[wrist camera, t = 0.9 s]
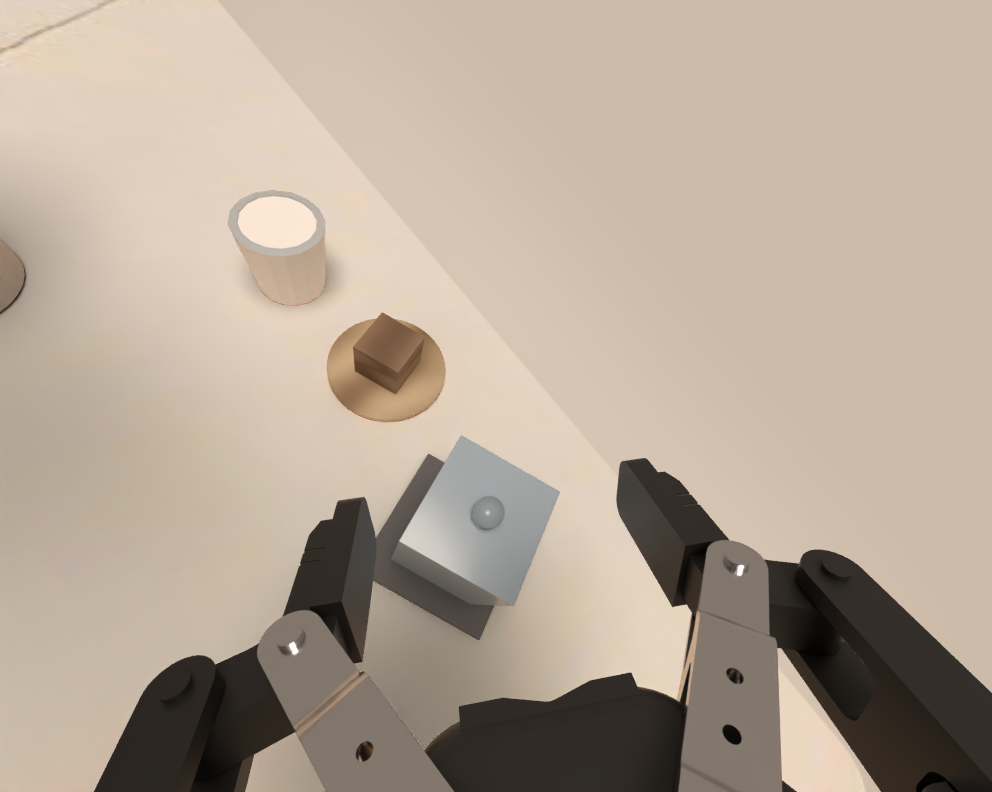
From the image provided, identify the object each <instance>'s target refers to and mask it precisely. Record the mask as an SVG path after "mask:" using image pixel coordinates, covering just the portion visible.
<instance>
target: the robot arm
mask: <svg viewBox="0 0 992 792" xmlns="http://www.w3.org/2000/svg"><path fill="white" fill-rule="evenodd" d="M24 276H25V273H24V268H23V264H22V262H21V261H20V259H19V257H18V256H17V255H16V254H15V253H14V252H13V251H12V250H11V249H10V248H9V247H8V246H7V245H6V244H5V243H4V242H3V241H2V240H1V239H0V311H2V310H3V309H4V308H5V307H7V306H8V305H9V304H10V303H11V302H12V301H13V300H14V299H15V297H16V296H17V295H18V293H19V291H20V289H21V288H22V286H23V282H24ZM617 508H618V512H619V515H620V517H621V519H622V521H623V522H624V524H625V526H626V527H627V529H628V531H629V533H630V534H631V536H632V538H633V540H634V541H635V543H636V545H637V546H638V548H639V550H640V552H641V553H642V555H643V557H644V559H645V560H646V562H647V564H648V565H649V567H650V569H651V571H652V572H653V574H654V576H655V578H656V579H657V581H658V583H659V584H660V586H661V588H662V590H663V591H664V593H665V595H666V597H667V598H668V600H669V602H670V603H671V605H672V607H674V606H680V605H685V604H687V605H688V607H689V609H690V610H691V612H692V613H691V617H690V623H689V630H688V636H687V643H686V649H685V656H684V662H683V669H682V675H681V681H680V687H679V692H678V696H677V700H676V699H674V698H672V697H669V696H667V695H665V694H663V693H660V692H657V691H654V690H651V689H647V688H642V687H637V685H636V683H635V680H634V678H633V675H632V673H626V674H621V675H616V676H611V677H606V678H601V679H596V680H591V681H589V682H587V683H585V684H583V685H581V686H579V687H577V688H576V689H574V690H572V691H570V692H568V693H566V694H564V695H563V696H561V697H559V698H557V699H555V700H553V701H550V702H542V701H531V700H520V699H510V698H499V699H494V700H489V701H484V702H479V703H474V704H469V705H464V706H459V715H460V722H458V723H456V724H454V725H452V726H451V727H449V728H448V729H446V730H445V731H444V732H442V733H441V734H440V735H439V736H438V737H437V738H435V739H434V740H433V741H432V742H431V743H430V744H429V746H428V747H427V748H426V749H425V750H423V749H422V747H421V746H420V745H419V743H418V742H417V741H416V739H415V738H414V737H413V735H412V734H411V733H410V731H409V730H408V728H407V727H406V726H405V724H404V723H403V722H402V720H401V719H400V718H399V716H398V715H397V714H396V712H395V711H394V709H393V708H392V707H391V705H390V704H389V703H388V701H387V700H386V699H385V697H384V696H383V695H382V693H381V692H380V690H379V689H378V688H377V686H376V685H375V684H374V682H373V681H372V680H371V678H370V677H369V676H368V675H367V674H366V673H365V672H362V673H361V672H360V671H359V670H358V669H357V668H356V666H355V665H354V664H353V663H359V662H363V654H364V646H365V638H366V631H367V623H368V615H369V608H370V600H371V592H372V584H373V577H374V569H375V561H376V537H375V532H374V528H373V524H372V520H371V517H370V513H369V509H368V505H367V501H366V499H365V498H364V497H361V498H354V499H347V500H340V501H338V502H337V505H336V509H335V513H334V516H333V519H330V520H323V521H320V523H319V524H318V525H317V526H316V528H315V529H314V530H313V531H312V532H311V534H310V535H309V538H308V541H307V544H306V547H305V550H304V551H305V553H303V556H302V559H301V562H300V564H301V565H300V566H299V568H298V572H297V575H296V578H295V581H294V584H293V587H292V590H291V593H290V596H289V599H288V602H287V605H286V609H285V612H284V614H283V617H282V618H280V619H278V620H277V621H276V622H275V623H273V624H272V625H271V626H270V627H269V628H268V629H267V631H266V632H265V633H264V635H263V636H262V638H261V640H260V642H259V644H257V645H256V646H254V647H252V648H250V649H248V650H246V651H244V652H242V653H240V654H238V655H235V656H233V657H231V658H229V659H227V660H224V661H222V662H220V663H218V664H216V665H215V664H214V662H213V661H212V660H211V659H210V658H208V657H206V656H201V655H197V656H191V657H187V658H184V659H182V660H180V661H178V662H176V663H174V664H172V665H171V666H169V667H168V668H166V669H165V670H164V671H162V672H161V673H160V674H159V675H158V676H157V677H156V678H154V679H153V681H152V682H151V683H150V684H149V685H148V686H147V688H146V689H145V691H144V692H143V694H142V696H141V697H140V699H139V701H138V703H137V705H136V707H135V709H134V711H133V713H132V716H131V718H130V720H129V722H128V724H127V726H126V728H125V730H124V732H123V734H122V736H121V738H120V740H119V742H118V744H117V746H116V748H115V750H114V752H113V754H112V756H111V758H110V760H109V762H108V764H107V766H106V768H105V770H104V772H103V774H102V776H101V778H100V780H99V782H98V784H97V786H96V788H95V791H94V792H245V789H246V785H247V781H248V777H249V773H250V769H251V765H252V761H253V757H254V754H256V753H257V752H259V751H261V750H263V749H265V748H267V747H268V746H270V745H272V744H274V743H276V742H278V741H279V740H281V739H283V738H285V737H287V736H289V735H290V734H292V733H294V732H296V734H297V736H298V738H299V740H300V742H301V744H302V746H303V747H304V749H305V751H306V753H307V755H308V757H309V759H310V761H311V763H312V765H313V767H314V769H315V771H316V772H317V774H318V776H319V778H320V780H321V782H322V784H323V786H324V788H325V790H326V792H796V791H795V790H794V789H793V788H791V787H790V786H789V785H787V784H786V783H785V782H784V781H782V771H781V741H780V712H779V683H778V653H777V648H782V650H783V651H784V653H785V654H786V655H787V657H788V658H789V660H790V661H791V663H792V664H793V666H794V667H795V668H796V670H797V671H798V672H799V674H800V676H801V677H802V678H803V680H804V681H805V683H806V684H807V685H808V687H809V689H810V690H811V691H812V693H813V694H814V696H815V697H816V699H817V700H818V701H819V703H820V704H821V706H822V707H823V709H824V710H825V711H826V713H827V715H828V716H829V717H830V719H831V720H832V722H833V723H834V725H835V726H836V727H837V729H838V730H839V732H840V733H841V735H842V736H843V737H844V739H845V740H846V742H847V743H848V745H849V746H850V748H851V749H852V750H853V752H854V753H855V755H856V756H857V758H858V759H859V760H860V762H861V763H862V765H863V766H864V768H865V769H866V771H867V772H868V773H869V775H870V776H871V778H872V779H873V781H874V782H875V784H876V785H877V786H878V788H879V789H880V791H881V792H992V693H991V692H990V691H989V690H988V689H987V688H986V687H985V686H984V685H983V684H982V683H981V682H980V681H979V680H977V678H975V677H974V676H973V675H972V674H971V673H970V672H969V671H968V670H967V669H966V668H965V667H964V666H963V665H962V664H961V663H960V662H959V661H958V660H957V659H956V658H955V657H954V656H952V655H951V654H950V653H949V652H948V651H947V650H946V649H945V648H944V647H943V646H942V645H941V644H940V643H939V642H938V641H937V640H936V639H935V638H934V637H933V636H932V635H931V634H930V633H929V632H928V631H926V630H925V629H924V628H923V627H922V626H921V625H920V624H919V623H918V622H917V621H916V620H915V619H914V618H913V617H912V616H911V615H910V614H909V613H908V612H907V611H906V610H905V609H904V608H902V607H901V606H900V605H899V604H898V603H897V602H896V601H895V600H894V599H893V598H892V597H891V596H890V595H889V594H888V593H887V592H886V591H885V590H884V589H882V587H881V586H880V585H879V584H877V583H876V582H875V581H874V580H873V579H872V578H871V577H870V576H869V575H868V574H867V573H866V572H865V571H864V570H863V569H862V568H861V567H860V566H858V565H857V564H855V563H854V562H853V561H851V560H850V559H848V558H845V557H844V556H842V555H839V554H837V553H834V552H831V551H826V550H810V551H808V552H806V553H804V554H803V556H802V558H801V560H800V563H799V564H797V563H787V562H779V561H770V560H764V559H763V558H762V557H761V556H760V555H759V554H758V553H757V552H756V551H755V550H753V549H752V548H750V547H748V546H746V545H744V544H742V543H739V542H735V541H730V540H729V539H728V538H727V537H726V536H725V534H724V533H723V532H722V531H721V530H720V529H719V527H718V526H717V525H716V524H715V523H714V521H713V520H712V519H711V518H710V517H709V515H708V514H707V513H706V512H705V511H704V510H703V508H702V507H701V506H700V505H698V504H697V501H696V500H695V499H694V498H693V496H692V495H690V494H689V492H688V491H687V489H686V488H685V487H684V486H683V485H682V483H681V482H680V481H679V480H677V479H676V478H674V477H672V476H671V475H669V474H668V473H666V472H657V471H656V469H655V468H654V467H653V466H652V465H651V463H650V462H649V461H648V460H647V459H646V458H642V459H635V460H628V461H622V462H621V464H620V468H619V478H618V488H617ZM847 643H848V644H847ZM852 649H853V650H852ZM858 656H859V657H858ZM863 662H864V663H863Z"/></svg>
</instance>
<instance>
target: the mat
mask: <svg viewBox="0 0 992 792" xmlns="http://www.w3.org/2000/svg"><path fill="white" fill-rule="evenodd" d="M443 465H444V462H442V461H441V460H439V459H437V458H435V457H434V456H432V455H430V454H428V455H427V457H426V458H425V460H424V462H423V463H422V465H421V466H420V468H419V470H418V471H417V473H416V475H415V476H414V478H413V479H412V481H411V483H410V484H409V486H408V488H407V489H406V491H405V492H404V494H403V496H402V497H401V499H400V501H399V502H398V504H397V505H396V507H395V509H394V510H393V512H392V514H391V515H390V517H389V518H388V520H387V522H386V523H385V525H384V527H383V528H382V530H381V531H380V533H379V535H378V536H377V538H376V561H375V569H374V577H373V580H374V581H376V582H378V583H379V584H381V585H383V586H385V587H386V588H388V589H390V590H392V591H393V592H395V593H397V594H399V595H400V596H402V597H404V598H406V599H407V600H409V601H411V602H413V603H415V604H416V605H418V606H420V607H422V608H423V609H425V610H427V611H429V612H430V613H432V614H434V615H436V616H437V617H439V618H441V619H443V620H444V621H446V622H448V623H450V624H452V625H453V626H455V627H457V628H459V629H460V630H462V631H464V632H466V633H467V634H469V635H471V636H473V637H474V638H476V639H478V640H479V639H480V637H481V635H482V632H483V630H484V628H485V625H486V623H487V621H488V618H489V616H490V614H491V611H492V609H493V607H494V605H476V604H468V603H466V602H465V601H463V600H461V599H459V598H458V597H456V596H454V595H452V594H451V593H449V592H447V591H445V590H444V589H442V588H440V587H438V586H437V585H435V584H433V583H431V582H430V581H428V580H426V579H424V578H423V577H421V576H419V575H417V574H415V573H414V572H412V571H410V570H408V569H407V568H405V567H403V566H401V565H400V564H398V563H396V562H394V561H393V560H391V558H392V555H393V553H394V551H395V549H396V547H397V544H398V542H399V540H400V539H401V537H402V535H403V533H404V532H405V530H406V528H407V527H408V525H409V523H410V521H411V520H412V518H413V516H414V515H415V513H416V511H417V510H418V508H419V506H420V504H421V503H422V501H423V499H424V498H425V496H426V494H427V492H428V491H429V489H430V487H431V486H432V484H433V482H434V481H435V479H436V477H437V475H438V474H439V472H440V470H441V469H442V467H443Z"/></svg>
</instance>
